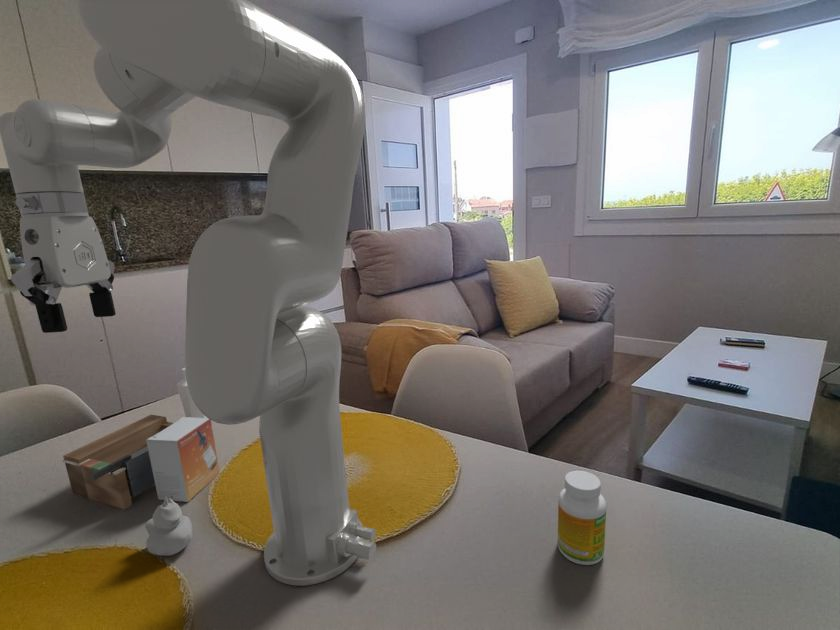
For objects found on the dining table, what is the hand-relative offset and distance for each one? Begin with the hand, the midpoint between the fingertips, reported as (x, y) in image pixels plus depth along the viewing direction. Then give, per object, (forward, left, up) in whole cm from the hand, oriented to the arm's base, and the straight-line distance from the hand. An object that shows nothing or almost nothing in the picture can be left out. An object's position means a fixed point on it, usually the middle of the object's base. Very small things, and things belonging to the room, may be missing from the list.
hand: (82, 323), depth 65 cm
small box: (-11, -4, -28) cm, 31 cm away
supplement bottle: (-71, -9, -28) cm, 77 cm away
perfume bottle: (+1, -17, -28) cm, 33 cm away
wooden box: (0, -4, -28) cm, 28 cm away
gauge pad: (-5, -2, -27) cm, 28 cm away
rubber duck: (-21, +7, -28) cm, 36 cm away
